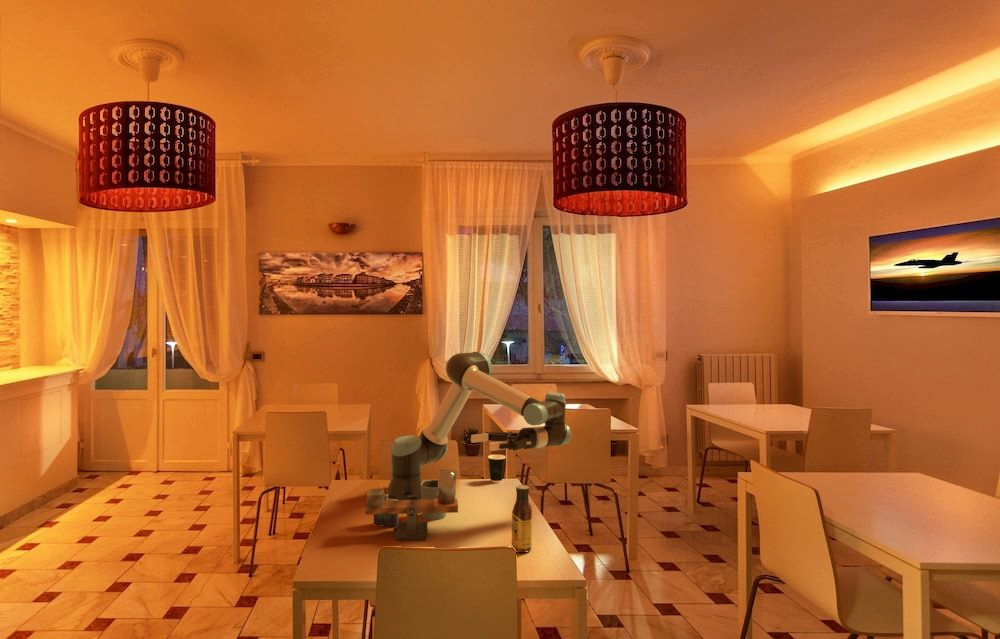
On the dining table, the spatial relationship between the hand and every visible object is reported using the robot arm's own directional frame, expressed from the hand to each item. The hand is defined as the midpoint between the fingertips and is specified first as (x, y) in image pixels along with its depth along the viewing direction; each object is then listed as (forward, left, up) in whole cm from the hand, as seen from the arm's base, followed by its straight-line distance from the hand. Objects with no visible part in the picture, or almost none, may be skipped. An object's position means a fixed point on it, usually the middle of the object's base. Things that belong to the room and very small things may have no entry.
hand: (480, 442), depth 206 cm
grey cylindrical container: (-20, +1, -29) cm, 35 cm away
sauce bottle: (+22, -11, -29) cm, 38 cm away
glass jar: (-7, -10, -19) cm, 22 cm away
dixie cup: (-24, +53, -29) cm, 65 cm away
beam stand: (-16, -17, -29) cm, 37 cm away
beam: (-16, -17, -21) cm, 32 cm away
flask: (-29, -15, -29) cm, 44 cm away
